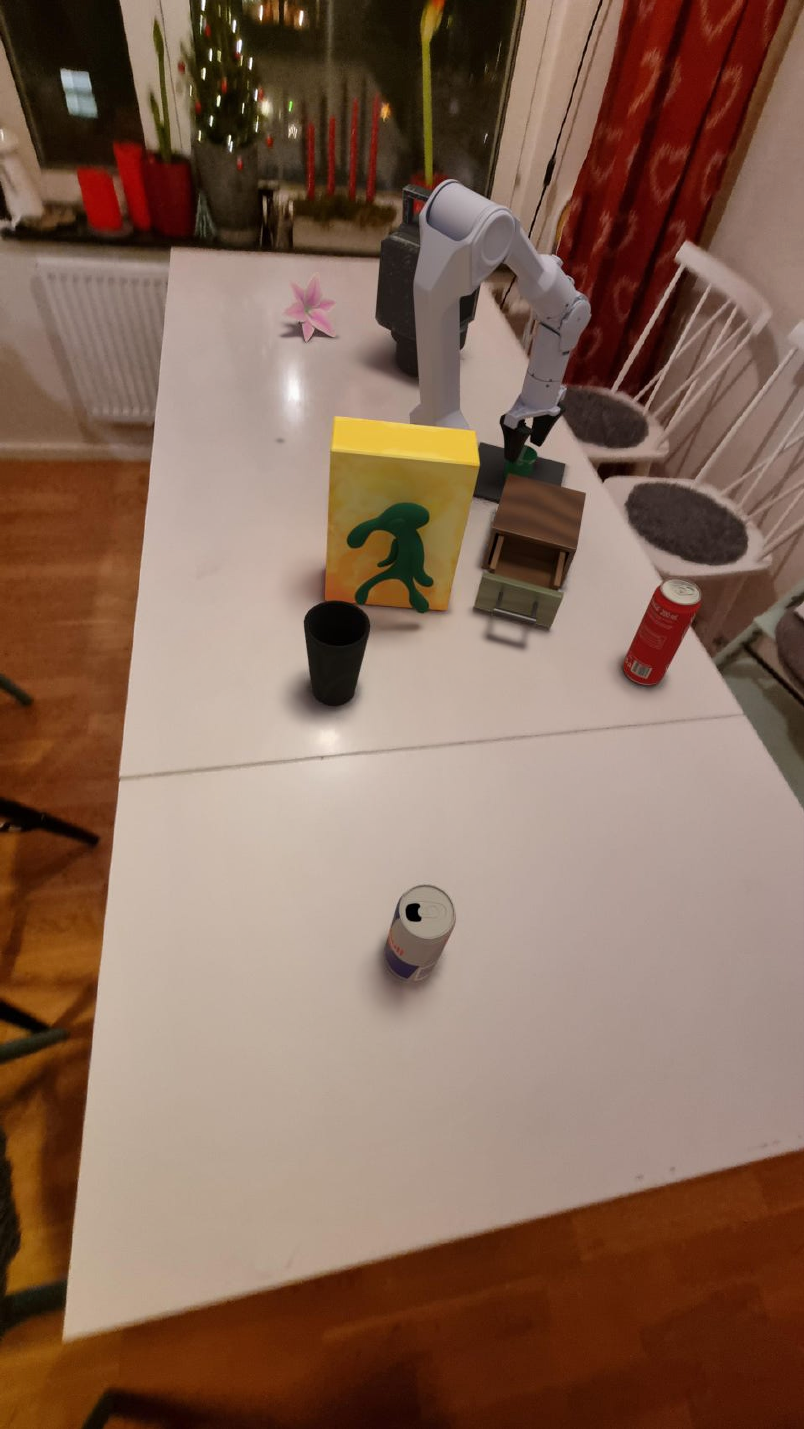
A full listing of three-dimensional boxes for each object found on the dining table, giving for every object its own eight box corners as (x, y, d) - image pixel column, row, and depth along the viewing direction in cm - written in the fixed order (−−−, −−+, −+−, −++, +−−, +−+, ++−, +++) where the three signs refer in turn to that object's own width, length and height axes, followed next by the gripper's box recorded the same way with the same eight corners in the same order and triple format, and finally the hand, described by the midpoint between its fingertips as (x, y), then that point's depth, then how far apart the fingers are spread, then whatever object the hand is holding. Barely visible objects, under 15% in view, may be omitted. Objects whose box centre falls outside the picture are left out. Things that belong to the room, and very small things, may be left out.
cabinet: (561, 588, 106) (576, 549, 100) (481, 567, 107) (492, 527, 101) (571, 532, 115) (586, 492, 109) (497, 512, 116) (508, 472, 110)
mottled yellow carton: (322, 628, 95) (327, 475, 76) (327, 567, 103) (333, 415, 84) (448, 637, 97) (483, 490, 78) (444, 577, 104) (476, 430, 85)
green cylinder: (505, 484, 120) (511, 461, 116) (498, 467, 123) (504, 443, 119) (533, 485, 121) (541, 461, 117) (526, 467, 124) (533, 444, 120)
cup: (317, 720, 86) (319, 655, 76) (293, 676, 90) (293, 609, 80) (373, 701, 89) (382, 637, 79) (348, 659, 92) (353, 593, 83)
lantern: (473, 364, 146) (506, 193, 122) (429, 396, 136) (456, 218, 112) (412, 339, 149) (433, 168, 126) (366, 368, 139) (379, 190, 116)
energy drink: (381, 930, 71) (394, 882, 61) (433, 928, 72) (453, 880, 62) (385, 984, 68) (399, 942, 58) (439, 981, 68) (461, 940, 59)
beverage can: (662, 691, 96) (713, 613, 84) (615, 680, 96) (660, 601, 84) (661, 660, 99) (710, 581, 87) (616, 650, 99) (659, 569, 87)
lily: (273, 343, 144) (288, 309, 135) (273, 296, 146) (288, 260, 138) (327, 361, 149) (345, 329, 141) (327, 315, 152) (344, 282, 144)
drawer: (546, 649, 97) (558, 620, 92) (467, 628, 97) (475, 597, 93) (561, 568, 107) (573, 538, 103) (490, 550, 108) (498, 519, 104)
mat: (462, 493, 118) (462, 490, 117) (479, 444, 128) (480, 442, 127) (554, 517, 117) (555, 514, 116) (564, 466, 126) (565, 463, 126)
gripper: (540, 398, 102) (517, 479, 113) (591, 369, 109) (565, 447, 120) (502, 378, 104) (483, 459, 115) (554, 351, 112) (532, 429, 123)
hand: (522, 452), depth 118 cm, fingers open, 7 cm apart
